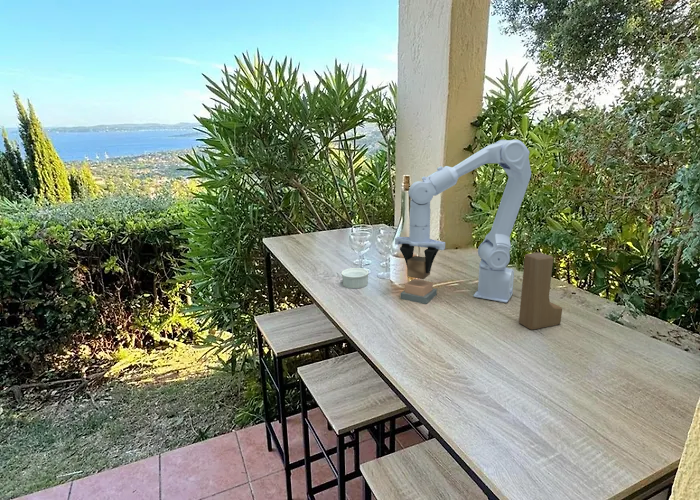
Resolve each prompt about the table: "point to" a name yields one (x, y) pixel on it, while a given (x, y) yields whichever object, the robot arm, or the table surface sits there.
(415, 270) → the walnut cube
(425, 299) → the tower base
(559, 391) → the table surface
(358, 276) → the ramekin
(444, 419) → the table surface
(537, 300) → the wooden block
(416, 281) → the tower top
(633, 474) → the table surface
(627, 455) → the table surface
